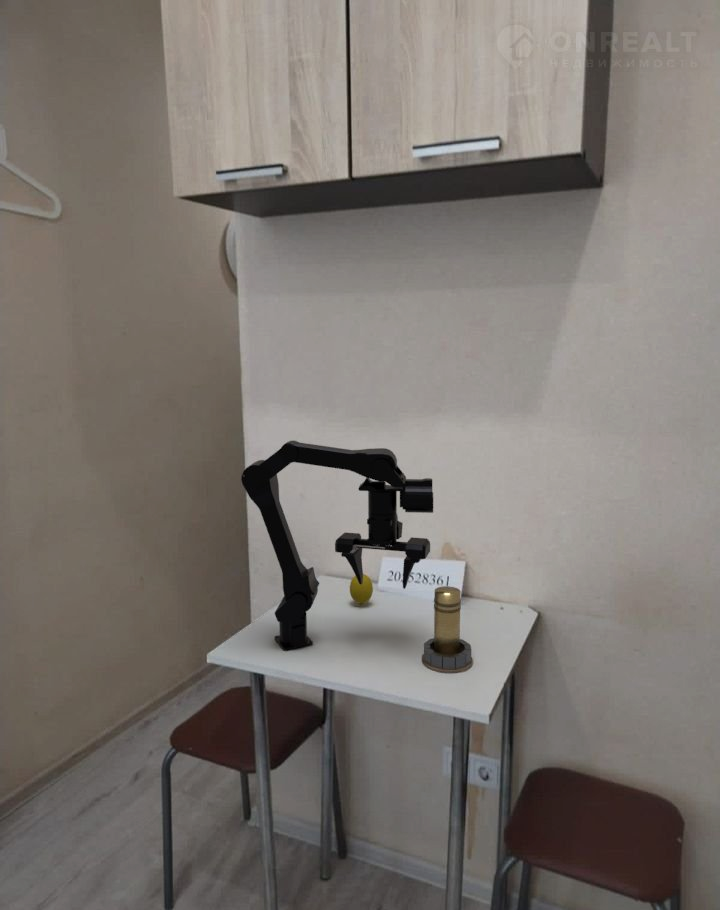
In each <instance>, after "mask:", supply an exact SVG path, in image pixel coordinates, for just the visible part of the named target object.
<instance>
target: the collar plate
mask: <svg viewBox="0 0 720 910" xmlns="http://www.w3.org/2000/svg"><path fill="white" fill-rule="evenodd" d="M473 661H474V659H473V656H471V663H470V664H469V665H468V666H467V667H464V668H461V669H457V670H443V669H438V668H435V667H432V666H430V665H428V664H427V663H426V662H425V661H424V653H423V654H422V655H421V663H422V664H423V666H425V668H427V669H429V670H431V671H433V672H437V673H443V674H457V673H458V672H459V673H463V672H466V671H467V669H468V670H470V667H471V668H472V666H473V665H472V664H474V663H473ZM465 670H466V671H465ZM462 671H463V672H462Z"/></svg>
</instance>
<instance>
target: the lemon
mask: <svg viewBox="0 0 720 910" xmlns="http://www.w3.org/2000/svg"><path fill="white" fill-rule="evenodd" d="M373 590H374V586H373V582H372V580H371V578H370V577H369V576H368V575H367V574H365V573H363V583H362V584H359V582H358V580H357V577H356V575H354V576H353V577H352V579H351V581H350V584H349V593H350V597H351V598H352V600H353V601H354V602H356V603H358V604H359V605H360V606H361V605H362V604H363V605H364V603H367V602H368V601H369V600H371V598H372V596H373V592H374V591H373Z"/></svg>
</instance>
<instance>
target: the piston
mask: <svg viewBox="0 0 720 910" xmlns="http://www.w3.org/2000/svg"><path fill="white" fill-rule="evenodd" d="M433 603H434V604H433V609H434V610H433V613H434V614H433V615H434V617H433V618H434V620H433V621H434V622H433V623H434V624H433V630H434V631H433V638H434V652H437V653H440V654H445V655H454V654H458V653H460V639H461V607H462V599H461V590H460V588H457V587H455V586H438V587H437V588H435V589H434V598H433Z"/></svg>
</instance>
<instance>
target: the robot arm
mask: <svg viewBox="0 0 720 910" xmlns="http://www.w3.org/2000/svg"><path fill="white" fill-rule="evenodd" d="M292 463H297V464H298V463H299V464H305V465H309V466H319V467H325V468H332V469H339V470H346V471H350V472H353V473H355V474H358V475H359V476H362V477H364V478H365V479H364V481H363V482H362V483H360V484H359V487H358V489H357V490H358V491H359V492H367V500H368V501H367V503H368V505H367V507H368V508H367V509H368V511H367V513H368V516H367V519H366V521H367V522H366V524H367V525H368V527H367V532H368V533H367V535H368V538H362V535H361V533H359V532H358V533H357V532H343V533H342V534H341V535H340V536H339V537H338V538H336V539H335V542H334V552H335V553H339V554H341V558H342V557H343V558H345V559H346V560H347V562H348V563H349V565H350V567H351V568H352V571H353V573H354V576H356V577H357V580H358V582H359V584H362V583H363V574H364V571H363V561H362V560H363V559H362V556H363V554H362V553H363V549H367V550H368V549H369V550H381V551H394V552H405V553H404V554H405V558H404V559H403V568H402V570H403V571H402V588H403V589H407V588H406V587H407V586H408V585H407V584H408V582H409V580H410V576H411V574H412V570H413V567H414V565H415V564H419V563H420V561H421V560H425V559H427V557H428V555H429V554H430V553H431V541H430V540H429V539H428V538H427V537H426V538H425V537H422V538H421V537H410V538H409V540H408V541H399V539H400V538H402V536H403V522H402V521H399V520H398V519H399V517H398V512H397V511H398V510H397V507H398V505H397V504H398V501H397V499H398V498H397V495H398V494H397V493H398V492H399V508H402V510H404V511H405V513H417V514H420V513H421V514H422V513H423V514H424V513H426V514H428V513H429V514H430V513H431V514H432V513H434V492H433V479H432V478H429V477H427V478H423V479H421V478H418V479H417V478H407V477H406V475H405V473H404V472H403V470H401V469H400V466H399V465H398V459H397V457H396V454H395V453H394V452H393V450H391V449H388V448H385V447H383V448H382V447H381V448H379V447H378V448H376V447H375V448H362V449H349V448H348V449H347V448H341V447H340V448H339V447H333V446H327V445H326V446H325V445H320V444H313V443H312V444H311V443H306V442H299V441H297V440H289V441H287V442H285V443H284V444H283V445H282V446H281V448H279V449H278V450H277V451H275V452H274V453H273V454H271V455H270V456H269V457H268V458H266V459H259V460H258V459H257V461H254V462H253V463H252V464H250V465H248V466H247V467H246V468H245V469H244V470H243V471H242V474H241V479H240V480H241V484H242V486H243V488H244V490H245V491H246V493H247V495H248V497H249V499H250V500H251V501H252V502H253V503H254V504H255V505H256V507H257V508H258V509H259V512H260V514H261V517H262V520H263V523H264V525H265V528H266V531H267V534H268V536H269V539H270V541H271V544H272V548H273V550H274V553H275V556H276V559H277V562H278V564H279V567H280V569H281V573H282V591H283V597H282V599H281V601H280V602H279V604H278V606H277V608H276V610H275V611H274V616H275V619H276V621H277V622H278V623H279V626H278V627H279V635H275V636H274V637H273V638H274V641H276V643H277V644H278V645H279V646H280V648H281V649H282V650H283V651H288V650H293V649H297V648H298V649H299V648H302V647H307V646H312V645H314V641H313V640H312V639H311V638H310V637H309V635H308V625H307V623H308V620H307V612H308V611H309V610H310V609H312V606H313V604H314V602H315V600H316V597H317V595H318V591H319V589H318V588H319V586H320V582H319V580H318V579H317V577H316V574H315V568H314V566H312V567H309V568H308V567H306V566H305V565H304V564H303V562H302V560H301V557H300V554H299V552H298V549H297V546H296V544H295V541H294V537H293V535H292V532H291V529H290V527H289V524H288V520H287V519H286V516H285V513H284V510H283V506H282V504H281V502H280V489H279V488H280V485H279V478H278V474H279V473H280V472H281V471H283V470H284V469H285V468H287V467H288V466H289V465H291V464H292ZM397 540H398V541H397Z"/></svg>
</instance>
